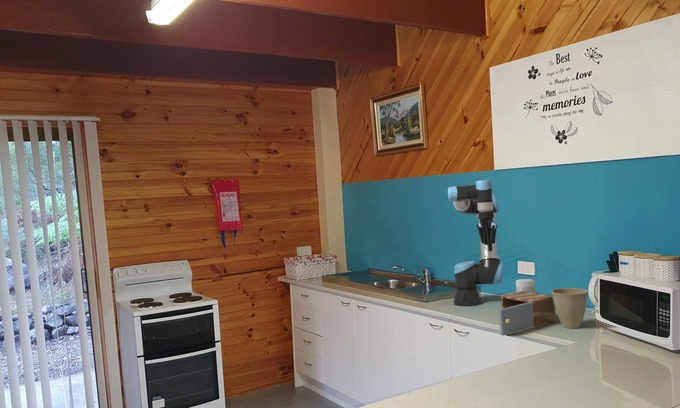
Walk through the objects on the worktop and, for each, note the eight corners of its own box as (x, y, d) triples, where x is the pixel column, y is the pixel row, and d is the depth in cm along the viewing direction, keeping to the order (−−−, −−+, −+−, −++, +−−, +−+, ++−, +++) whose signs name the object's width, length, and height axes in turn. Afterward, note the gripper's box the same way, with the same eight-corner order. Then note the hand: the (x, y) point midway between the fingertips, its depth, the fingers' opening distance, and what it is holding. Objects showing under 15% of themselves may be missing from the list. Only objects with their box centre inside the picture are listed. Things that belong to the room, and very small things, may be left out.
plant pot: (587, 331, 229) (584, 294, 228) (550, 329, 237) (548, 293, 236) (592, 323, 241) (590, 288, 241) (557, 321, 249) (555, 287, 249)
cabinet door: (531, 326, 242) (529, 302, 242) (536, 327, 240) (534, 303, 240) (500, 335, 232) (498, 309, 232) (505, 336, 230) (503, 310, 229)
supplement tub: (540, 307, 279) (538, 279, 279) (531, 311, 273) (529, 282, 273) (523, 305, 286) (521, 278, 286) (514, 309, 280) (512, 281, 280)
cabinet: (502, 319, 260) (500, 295, 260) (523, 314, 266) (522, 290, 266) (534, 327, 242) (532, 300, 242) (556, 321, 248) (554, 296, 248)
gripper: (500, 210, 264) (504, 257, 265) (482, 210, 276) (486, 255, 276) (488, 211, 261) (492, 259, 261) (471, 211, 273) (474, 257, 273)
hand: (489, 257), depth 269 cm, fingers closed
